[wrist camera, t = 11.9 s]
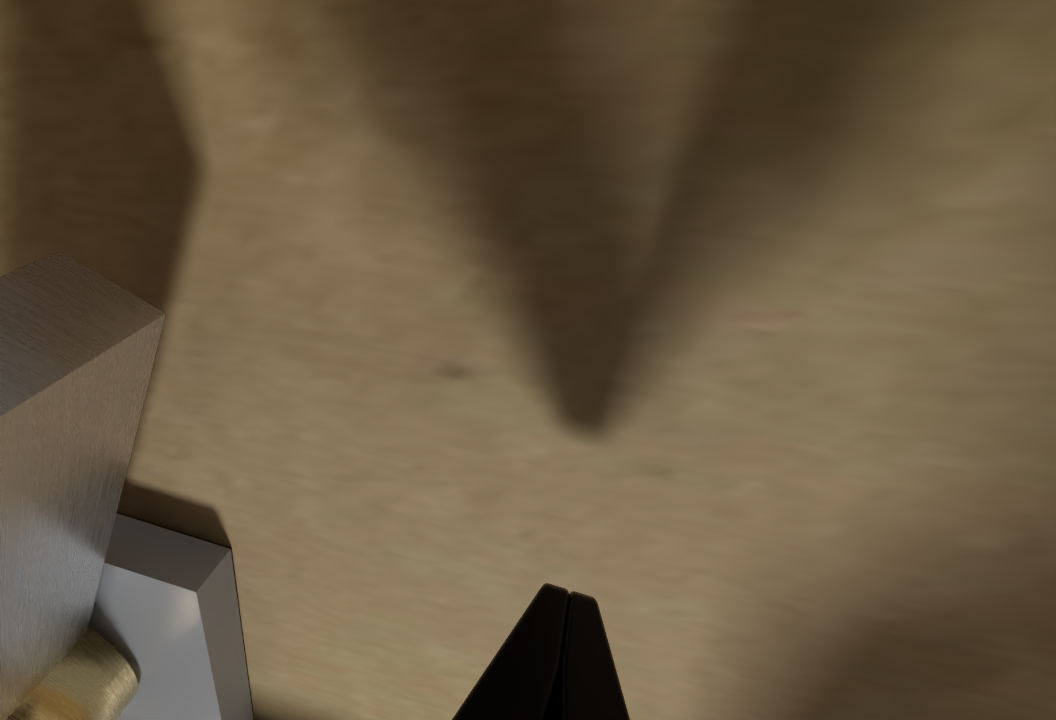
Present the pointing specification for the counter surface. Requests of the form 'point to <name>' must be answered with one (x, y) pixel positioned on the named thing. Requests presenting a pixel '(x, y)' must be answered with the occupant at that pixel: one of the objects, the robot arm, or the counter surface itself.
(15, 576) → the lever switch
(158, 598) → the plate
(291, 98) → the counter surface
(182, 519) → the counter surface
